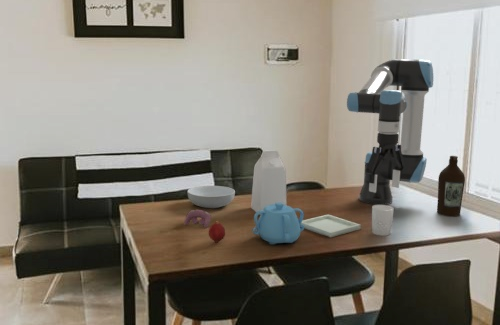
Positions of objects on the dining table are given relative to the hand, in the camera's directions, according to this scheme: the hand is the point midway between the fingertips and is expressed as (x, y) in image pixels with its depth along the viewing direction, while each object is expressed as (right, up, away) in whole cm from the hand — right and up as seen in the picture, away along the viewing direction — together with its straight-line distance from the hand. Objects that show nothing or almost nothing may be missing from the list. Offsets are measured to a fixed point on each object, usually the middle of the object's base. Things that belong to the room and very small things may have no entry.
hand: (384, 189), depth 202 cm
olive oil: (+36, -12, +32) cm, 49 cm away
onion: (-62, -18, -11) cm, 65 cm away
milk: (-42, -11, +31) cm, 53 cm away
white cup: (0, -17, +3) cm, 17 cm away
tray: (-19, -15, +8) cm, 26 cm away
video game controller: (-70, -14, +8) cm, 72 cm away
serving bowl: (-67, -9, +36) cm, 77 cm away
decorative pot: (-40, -18, -7) cm, 44 cm away
